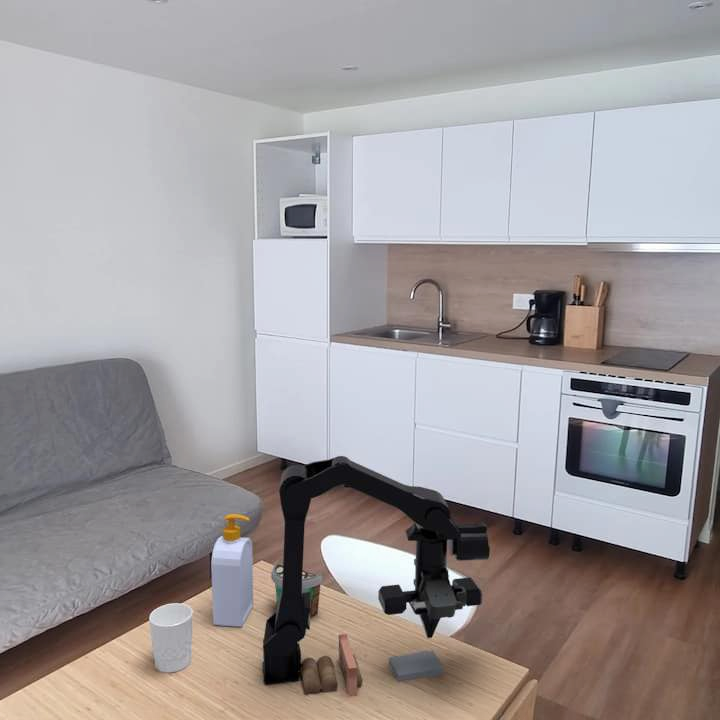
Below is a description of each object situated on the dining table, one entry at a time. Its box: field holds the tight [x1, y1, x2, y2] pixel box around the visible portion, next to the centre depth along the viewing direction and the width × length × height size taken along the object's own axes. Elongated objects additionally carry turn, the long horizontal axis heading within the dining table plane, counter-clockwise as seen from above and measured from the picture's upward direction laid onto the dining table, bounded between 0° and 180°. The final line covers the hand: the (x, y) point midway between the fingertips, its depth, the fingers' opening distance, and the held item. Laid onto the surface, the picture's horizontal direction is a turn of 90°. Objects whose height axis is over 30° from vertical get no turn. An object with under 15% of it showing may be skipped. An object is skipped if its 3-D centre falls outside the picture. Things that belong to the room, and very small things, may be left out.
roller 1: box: [301, 657, 322, 696], centre depth 119 cm, size 3×6×3 cm, turn 10°
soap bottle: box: [210, 513, 254, 628], centre depth 139 cm, size 9×7×23 cm
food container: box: [270, 560, 324, 619], centre depth 140 cm, size 12×6×10 cm, turn 62°
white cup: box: [148, 602, 194, 674], centre depth 124 cm, size 8×8×10 cm
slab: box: [388, 649, 445, 684], centre depth 123 cm, size 9×6×2 cm, turn 106°
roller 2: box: [316, 655, 339, 693], centre depth 120 cm, size 3×6×3 cm
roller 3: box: [340, 653, 364, 689], centre depth 121 cm, size 3×6×3 cm, turn 11°
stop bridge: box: [338, 633, 358, 697], centre depth 120 cm, size 2×10×6 cm, turn 12°
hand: (429, 636), depth 123 cm, fingers closed
